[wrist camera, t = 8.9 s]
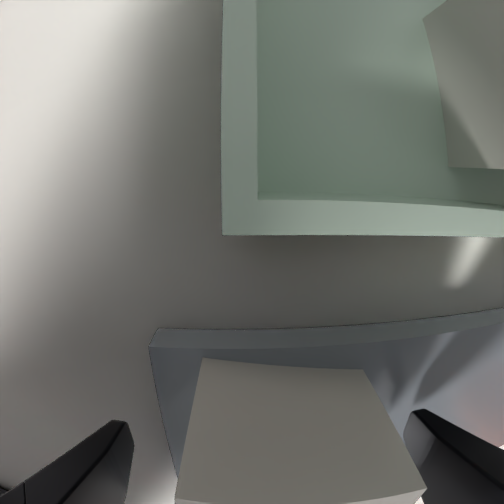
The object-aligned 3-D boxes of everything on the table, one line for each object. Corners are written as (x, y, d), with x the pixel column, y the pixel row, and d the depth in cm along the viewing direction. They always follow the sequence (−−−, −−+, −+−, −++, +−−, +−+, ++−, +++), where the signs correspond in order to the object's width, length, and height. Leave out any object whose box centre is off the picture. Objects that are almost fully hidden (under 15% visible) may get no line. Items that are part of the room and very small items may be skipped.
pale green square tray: (545, 223, 8) (604, 241, 5) (231, 211, 7) (222, 235, 5) (506, -33, 5) (545, -56, 2) (235, -108, 5) (234, -164, 2)
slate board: (505, 427, 10) (514, 438, 9) (187, 482, 10) (184, 501, 9) (555, 297, 8) (570, 305, 7) (158, 328, 8) (148, 346, 7)
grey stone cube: (323, 466, 8) (347, 568, 4) (195, 460, 8) (181, 570, 4) (363, 369, 7) (426, 488, 4) (202, 357, 7) (174, 497, 3)
